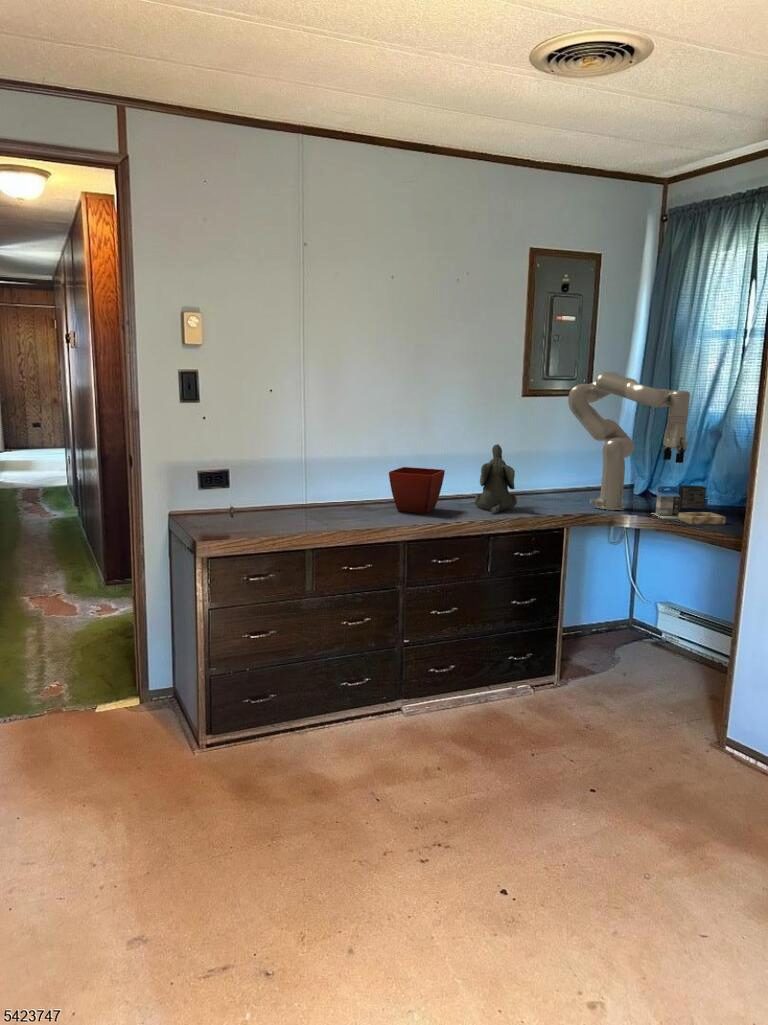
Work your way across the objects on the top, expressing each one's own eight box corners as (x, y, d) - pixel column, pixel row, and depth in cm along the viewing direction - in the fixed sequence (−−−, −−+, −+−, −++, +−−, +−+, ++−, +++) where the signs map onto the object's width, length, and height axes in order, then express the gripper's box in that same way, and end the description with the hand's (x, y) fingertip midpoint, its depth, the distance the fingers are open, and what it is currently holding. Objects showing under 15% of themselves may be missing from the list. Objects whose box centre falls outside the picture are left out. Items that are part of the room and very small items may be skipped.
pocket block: (691, 524, 310) (692, 517, 309) (678, 519, 319) (679, 512, 319) (725, 524, 312) (725, 517, 312) (711, 519, 322) (711, 512, 321)
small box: (700, 507, 350) (702, 485, 348) (704, 510, 343) (707, 487, 341) (676, 506, 351) (678, 484, 349) (680, 509, 344) (682, 486, 342)
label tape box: (659, 515, 323) (662, 487, 321) (654, 514, 327) (657, 485, 325) (678, 516, 324) (682, 487, 321) (674, 514, 328) (677, 486, 325)
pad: (662, 519, 319) (662, 517, 319) (650, 514, 329) (651, 513, 329) (684, 518, 321) (684, 517, 321) (672, 514, 331) (672, 513, 330)
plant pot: (386, 511, 316) (387, 471, 313) (402, 504, 334) (403, 466, 331) (430, 516, 310) (431, 475, 306) (443, 508, 327) (445, 469, 324)
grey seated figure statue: (493, 503, 345) (497, 443, 340) (526, 511, 328) (530, 448, 323) (461, 506, 334) (464, 444, 329) (493, 514, 317) (497, 450, 312)
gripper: (658, 418, 325) (654, 458, 328) (680, 421, 308) (675, 463, 312) (674, 419, 326) (670, 458, 330) (697, 422, 310) (692, 464, 313)
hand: (672, 461), depth 321 cm, fingers open, 9 cm apart
